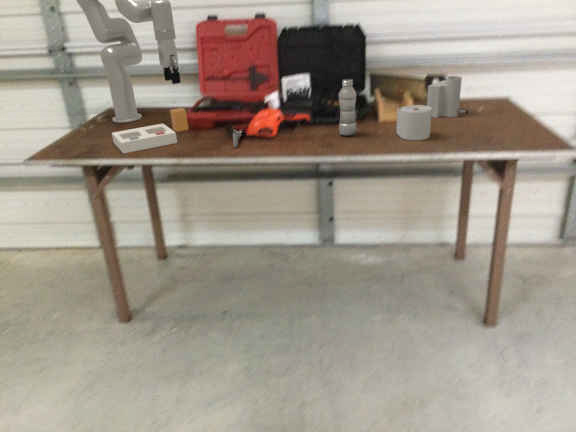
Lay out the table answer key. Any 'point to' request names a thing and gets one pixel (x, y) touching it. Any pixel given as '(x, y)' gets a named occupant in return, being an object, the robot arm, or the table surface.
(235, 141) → the caliper
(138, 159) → the table surface
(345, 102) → the plastic bottle
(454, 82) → the grey cylinder cluster
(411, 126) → the toilet tissue
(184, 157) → the table surface
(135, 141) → the socket board
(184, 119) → the plug
